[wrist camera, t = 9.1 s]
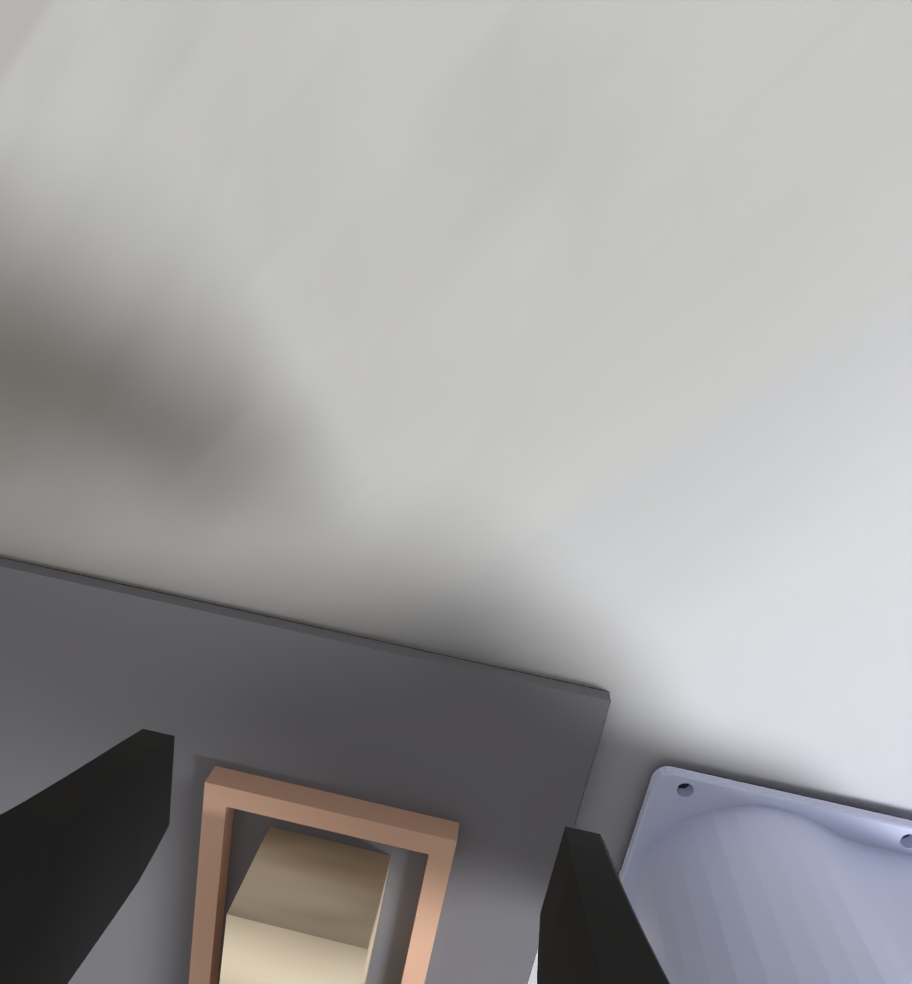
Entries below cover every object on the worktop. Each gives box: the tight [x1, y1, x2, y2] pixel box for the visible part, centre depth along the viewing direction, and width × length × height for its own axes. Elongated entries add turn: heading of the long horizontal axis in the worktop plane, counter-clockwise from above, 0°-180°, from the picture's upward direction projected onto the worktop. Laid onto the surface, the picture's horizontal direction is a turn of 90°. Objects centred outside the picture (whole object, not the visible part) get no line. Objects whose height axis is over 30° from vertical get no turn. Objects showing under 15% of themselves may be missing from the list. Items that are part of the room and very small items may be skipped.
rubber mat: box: [0, 558, 611, 984], centre depth 25 cm, size 24×20×1 cm
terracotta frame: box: [189, 766, 459, 984], centre depth 25 cm, size 9×14×1 cm, turn 170°
